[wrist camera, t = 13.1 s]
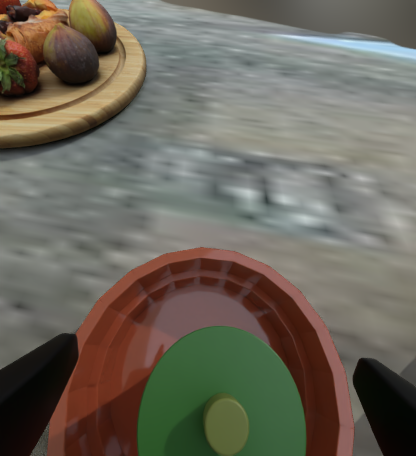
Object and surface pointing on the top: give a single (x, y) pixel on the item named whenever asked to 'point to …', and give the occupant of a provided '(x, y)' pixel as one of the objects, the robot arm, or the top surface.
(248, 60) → the top surface
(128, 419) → the pot
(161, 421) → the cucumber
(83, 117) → the wooden plate
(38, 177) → the top surface
